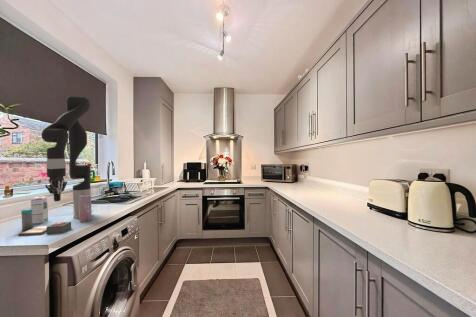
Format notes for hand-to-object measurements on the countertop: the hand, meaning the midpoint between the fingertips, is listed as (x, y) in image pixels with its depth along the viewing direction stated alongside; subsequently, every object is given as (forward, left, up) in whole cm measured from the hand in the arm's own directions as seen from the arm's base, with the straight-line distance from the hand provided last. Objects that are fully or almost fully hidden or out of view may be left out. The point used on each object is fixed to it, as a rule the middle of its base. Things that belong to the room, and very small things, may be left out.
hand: (57, 200), depth 113 cm
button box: (+3, +2, -15) cm, 15 cm away
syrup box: (-19, -22, -15) cm, 33 cm away
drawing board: (+1, -8, -15) cm, 17 cm away
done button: (+3, +2, -13) cm, 13 cm away
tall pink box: (-15, +5, -15) cm, 22 cm away
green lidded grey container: (-3, -17, -15) cm, 23 cm away
